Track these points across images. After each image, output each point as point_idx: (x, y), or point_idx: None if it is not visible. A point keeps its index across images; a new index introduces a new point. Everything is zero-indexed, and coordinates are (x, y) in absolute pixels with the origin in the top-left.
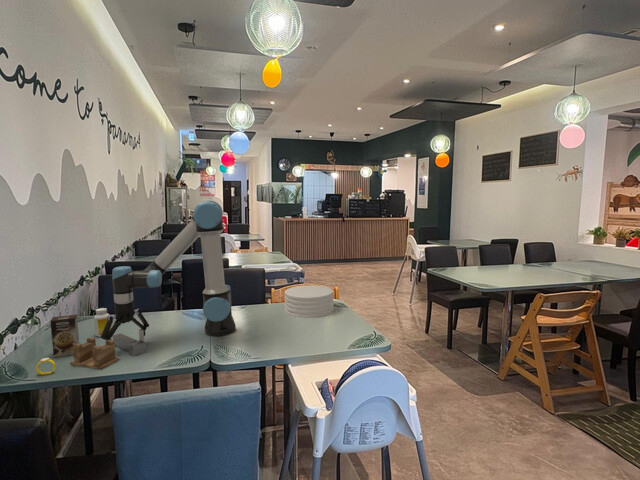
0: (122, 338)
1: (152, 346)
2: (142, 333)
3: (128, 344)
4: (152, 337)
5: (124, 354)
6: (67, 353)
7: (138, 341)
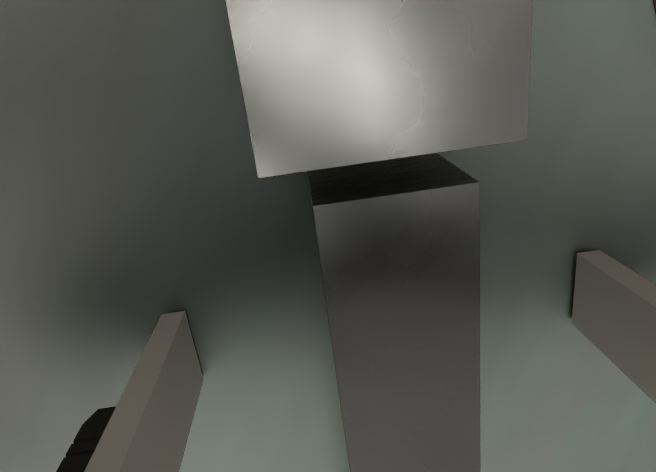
0: (451, 461)
1: (86, 140)
2: (129, 428)
3: (526, 112)
4: (11, 456)
5: None
6: None
7: (318, 119)
